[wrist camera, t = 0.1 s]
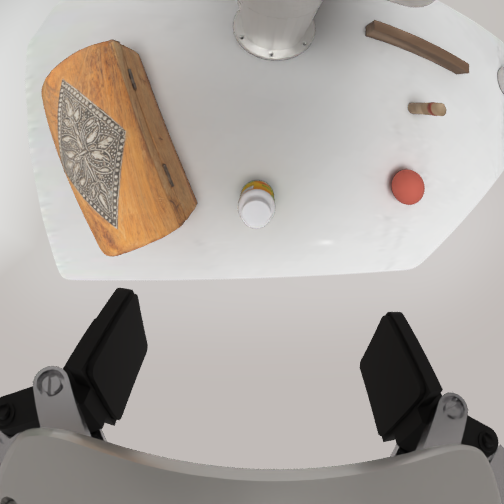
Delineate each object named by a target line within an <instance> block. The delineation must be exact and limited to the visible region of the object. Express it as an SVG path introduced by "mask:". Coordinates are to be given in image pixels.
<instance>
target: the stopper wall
mask: <svg viewBox="0 0 504 504" xmlns="http://www.w3.org/2000/svg"><path fill="white" fill-rule="evenodd" d="M366 36H368V37H371V38H374V39H377V40H380V41H383V42H386V43H389V44H392V45H394V46H397V47H400V48H402V49H405V50H407V51H410V52H412V53H414V54H417V55H419V56H421V57H423V58H426V59H428V60H430V61H432V62H434V63H436V64H438V65H440V66H442V67H444V68H446V69H448V70H450V71H452V72H454V73H455V74H464V73H469V64H468V63H466V62H465V61H463V60H461V59H460V58H458V57H456V56H455V55H453V54H451V53H449V52H447V51H445V50H444V49H442V48H440V47H438V46H436V45H434V44H432V43H430V42H428V41H426V40H424V39H421V38H419V37H417V36H415V35H412V34H410V33H408V32H405V31H403V30H401V29H398V28H395V27H393V26H390V25H387V24H385V23H382V22H379V21H376V20H374V21H373V22H371V23H370V24H369V25H367V26H366Z"/></svg>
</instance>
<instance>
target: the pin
mask: <svg viewBox="0 0 504 504" xmlns="http://www.w3.org/2000/svg"><path fill="white" fill-rule="evenodd" d="M408 110H409V112H410V113H412V114H425V115H434V116H444V115H445V114H446V107H445V106H444V104H442V103H434V102H431V103H410V104H409V105H408Z"/></svg>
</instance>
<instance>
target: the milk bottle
mask: <svg viewBox="0 0 504 504" xmlns="http://www.w3.org/2000/svg"><path fill="white" fill-rule="evenodd" d="M498 82H499V85H500V88H501V90H502V92H503V93H504V67H502V68H500V69H499V71H498Z"/></svg>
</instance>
